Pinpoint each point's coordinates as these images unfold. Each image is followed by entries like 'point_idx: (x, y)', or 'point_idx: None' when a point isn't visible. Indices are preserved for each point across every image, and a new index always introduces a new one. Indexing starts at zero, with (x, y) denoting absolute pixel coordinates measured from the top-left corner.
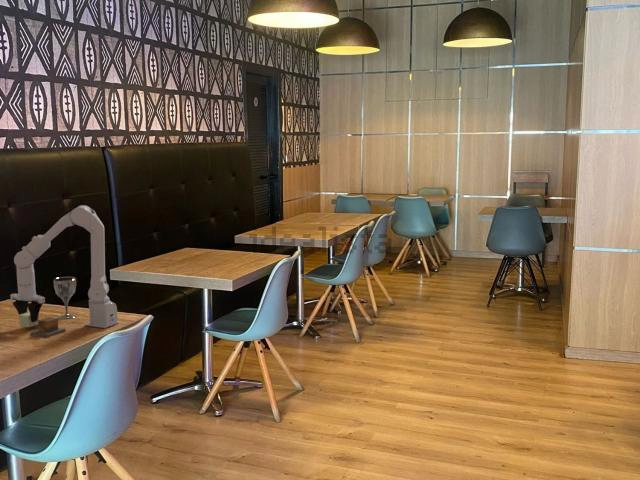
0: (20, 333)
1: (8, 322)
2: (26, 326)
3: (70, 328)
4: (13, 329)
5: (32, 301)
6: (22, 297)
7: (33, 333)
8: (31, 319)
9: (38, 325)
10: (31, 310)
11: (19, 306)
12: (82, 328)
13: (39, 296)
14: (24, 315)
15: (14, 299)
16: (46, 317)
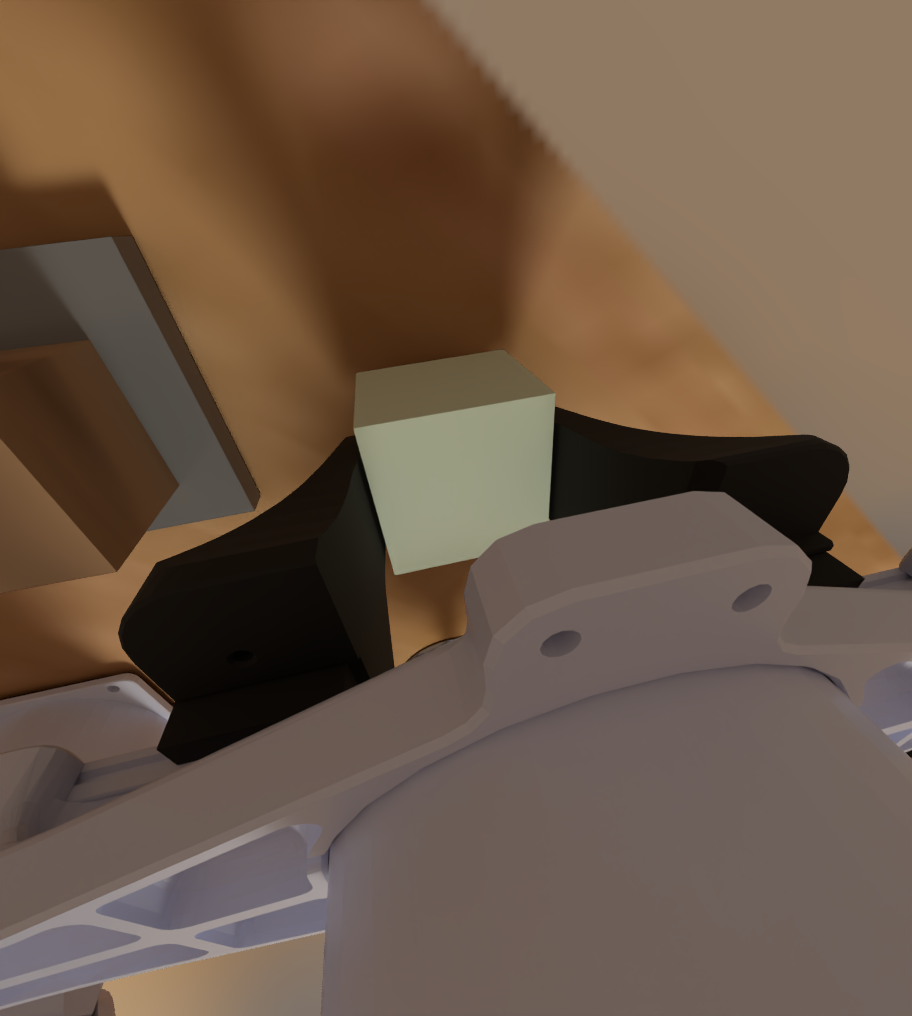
0: (326, 215)
1: (746, 419)
2: (397, 366)
3: (128, 595)
4: (550, 294)
5: (294, 713)
6: (544, 733)
7: (56, 245)
8: (350, 442)
9: (31, 363)
10: (273, 512)
11: (629, 486)
12: (54, 640)
13: (203, 948)
14: (447, 420)
15: (894, 572)
16: (95, 549)
